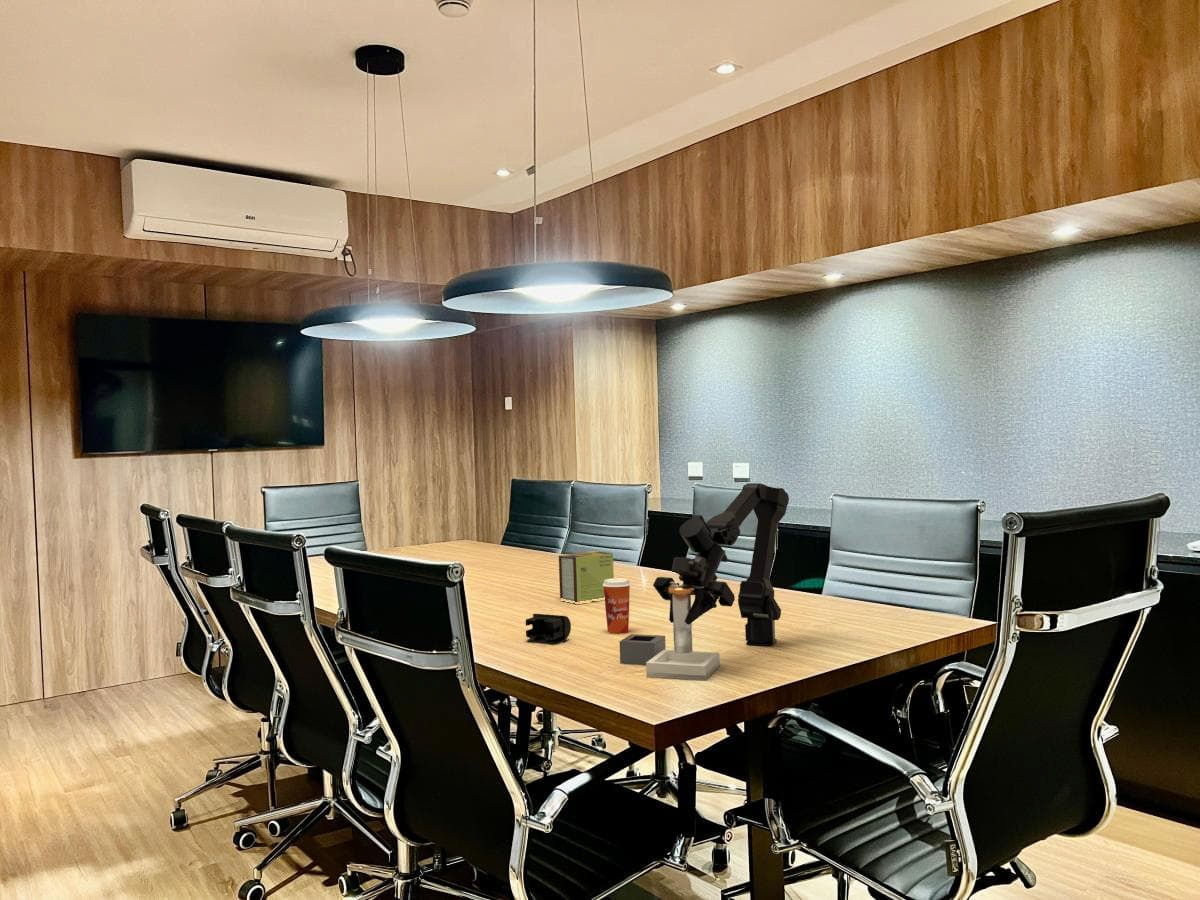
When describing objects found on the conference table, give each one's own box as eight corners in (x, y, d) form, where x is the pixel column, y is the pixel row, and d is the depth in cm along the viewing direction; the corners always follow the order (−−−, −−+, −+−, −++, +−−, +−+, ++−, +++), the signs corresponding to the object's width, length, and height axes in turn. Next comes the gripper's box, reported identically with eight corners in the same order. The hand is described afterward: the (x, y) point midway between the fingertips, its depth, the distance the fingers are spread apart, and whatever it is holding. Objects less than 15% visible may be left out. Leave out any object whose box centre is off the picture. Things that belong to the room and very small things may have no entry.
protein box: (615, 599, 294) (613, 552, 294) (577, 605, 285) (575, 557, 285) (596, 596, 302) (595, 550, 302) (559, 601, 293) (557, 554, 293)
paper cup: (608, 635, 235) (607, 582, 235) (600, 630, 242) (598, 579, 242) (636, 633, 237) (634, 580, 237) (627, 627, 244) (626, 577, 244)
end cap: (571, 640, 231) (571, 614, 231) (556, 645, 225) (555, 618, 225) (540, 637, 236) (539, 611, 236) (524, 642, 230) (523, 616, 230)
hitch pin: (693, 647, 197) (691, 584, 196) (698, 653, 191) (696, 589, 191) (668, 648, 196) (666, 585, 196) (672, 655, 191) (670, 590, 191)
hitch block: (665, 657, 208) (665, 635, 208) (655, 665, 200) (654, 643, 200) (632, 655, 211) (631, 634, 211) (620, 663, 203) (619, 641, 203)
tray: (719, 666, 197) (719, 652, 197) (705, 680, 185) (705, 666, 185) (664, 662, 202) (663, 649, 202) (646, 676, 190) (646, 662, 190)
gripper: (656, 541, 203) (628, 596, 194) (725, 544, 191) (699, 603, 182) (677, 571, 209) (650, 626, 200) (746, 576, 197) (721, 635, 188)
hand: (678, 622), depth 193 cm, fingers closed on hitch pin, 4 cm apart
